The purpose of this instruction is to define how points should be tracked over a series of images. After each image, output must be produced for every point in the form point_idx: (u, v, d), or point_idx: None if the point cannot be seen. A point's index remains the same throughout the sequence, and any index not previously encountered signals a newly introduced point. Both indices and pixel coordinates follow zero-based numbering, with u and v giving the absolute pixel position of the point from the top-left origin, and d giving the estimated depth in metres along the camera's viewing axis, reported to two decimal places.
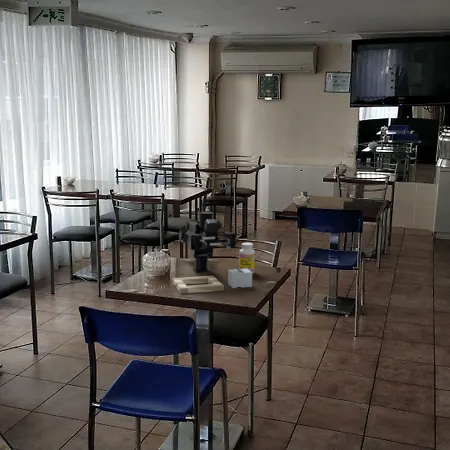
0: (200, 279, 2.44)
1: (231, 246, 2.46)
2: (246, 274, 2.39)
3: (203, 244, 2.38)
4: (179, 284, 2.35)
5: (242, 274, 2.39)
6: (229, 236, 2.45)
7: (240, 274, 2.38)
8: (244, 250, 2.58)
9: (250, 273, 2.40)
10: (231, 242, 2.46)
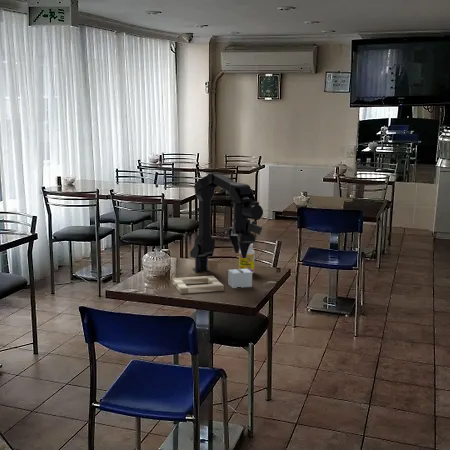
0: (200, 279, 2.44)
1: None
2: (246, 274, 2.39)
3: (245, 252, 2.35)
4: (179, 284, 2.35)
5: (242, 274, 2.39)
6: None
7: (240, 274, 2.38)
8: None
9: (250, 273, 2.40)
10: None
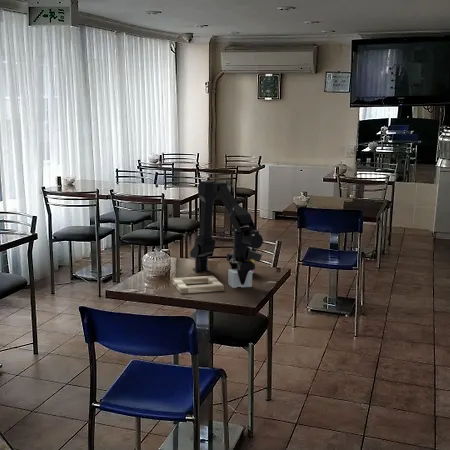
0: (200, 279, 2.44)
1: None
2: None
3: (243, 279, 2.38)
4: (179, 284, 2.35)
5: None
6: None
7: None
8: None
9: (250, 273, 2.40)
10: None
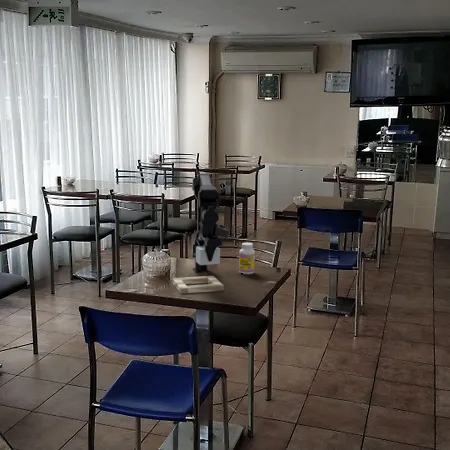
0: (200, 279, 2.44)
1: None
2: None
3: (211, 256, 2.34)
4: (179, 284, 2.35)
5: None
6: None
7: None
8: (244, 250, 2.58)
9: (218, 249, 2.36)
10: None
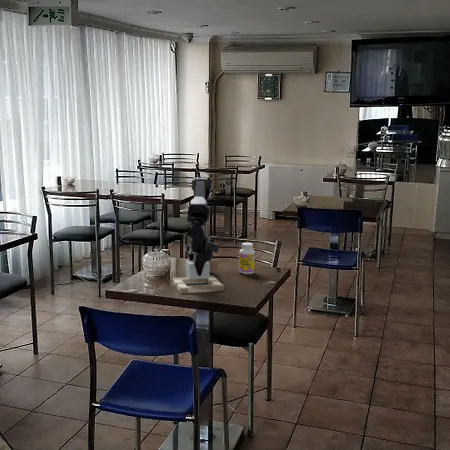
0: (200, 279, 2.44)
1: None
2: None
3: (200, 270, 2.34)
4: (179, 284, 2.35)
5: None
6: None
7: None
8: (244, 250, 2.58)
9: (207, 264, 2.36)
10: None
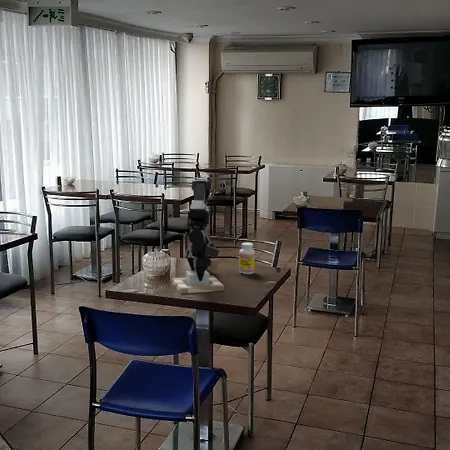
0: None
1: None
2: None
3: (201, 276, 2.33)
4: (179, 284, 2.35)
5: None
6: None
7: None
8: (244, 250, 2.58)
9: (207, 274, 2.37)
10: None
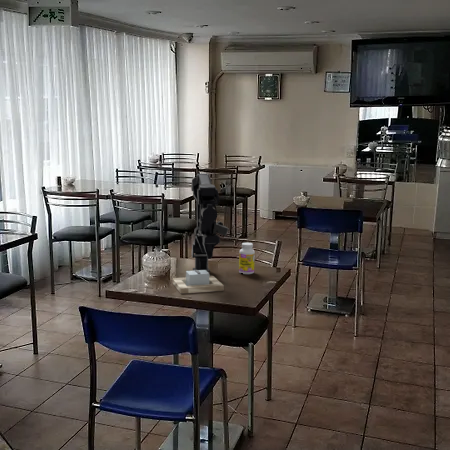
0: None
1: None
2: (203, 275, 2.36)
3: (210, 253, 2.37)
4: (179, 284, 2.35)
5: (199, 275, 2.36)
6: None
7: (197, 275, 2.35)
8: (244, 250, 2.58)
9: (207, 274, 2.37)
10: None
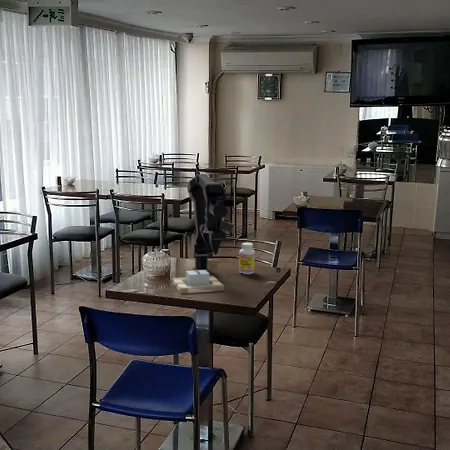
0: None
1: None
2: (203, 275, 2.36)
3: (216, 249, 2.41)
4: (179, 284, 2.35)
5: (199, 275, 2.36)
6: None
7: (197, 275, 2.35)
8: (244, 250, 2.58)
9: (207, 274, 2.37)
10: None
